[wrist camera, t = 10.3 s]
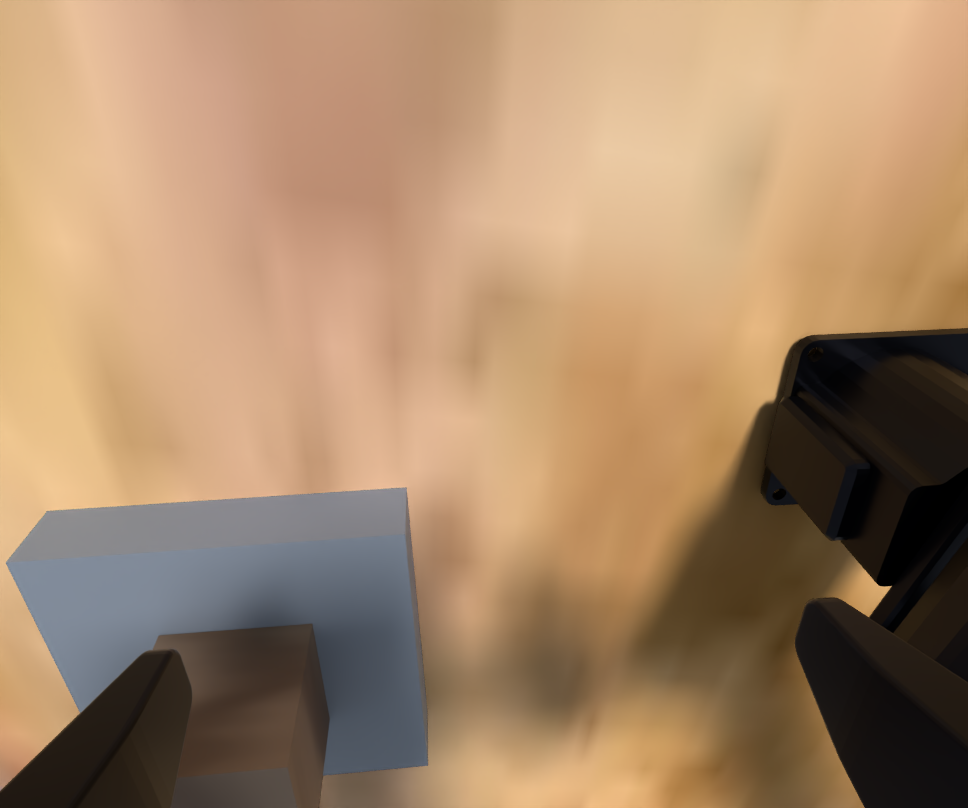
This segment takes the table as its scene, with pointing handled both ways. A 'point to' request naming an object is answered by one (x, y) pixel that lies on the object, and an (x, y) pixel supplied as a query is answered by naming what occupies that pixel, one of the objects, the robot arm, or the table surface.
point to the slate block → (245, 599)
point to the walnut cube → (252, 718)
